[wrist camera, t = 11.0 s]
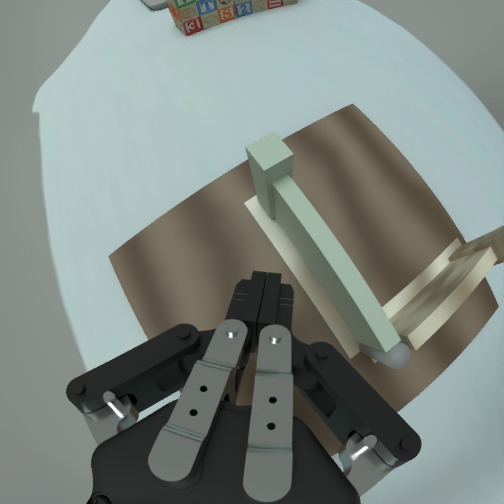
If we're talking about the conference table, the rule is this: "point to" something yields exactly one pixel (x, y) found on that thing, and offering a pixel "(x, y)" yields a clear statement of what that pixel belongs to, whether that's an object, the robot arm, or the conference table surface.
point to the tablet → (156, 4)
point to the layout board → (294, 266)
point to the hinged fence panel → (322, 252)
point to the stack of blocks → (215, 11)
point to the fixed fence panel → (448, 289)
